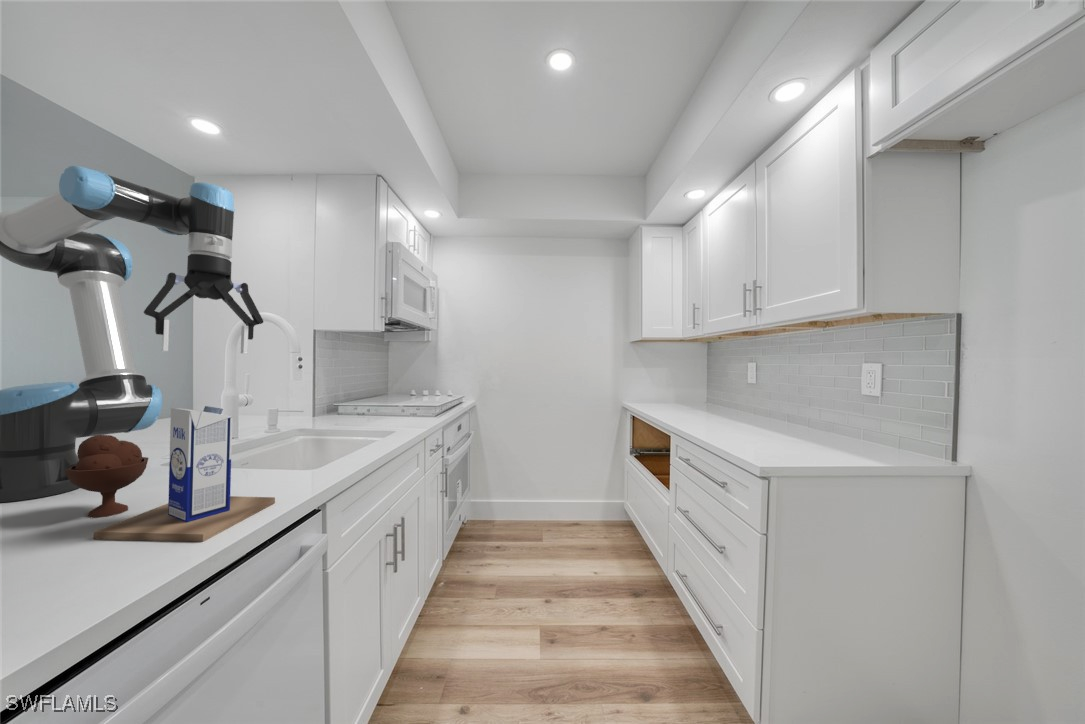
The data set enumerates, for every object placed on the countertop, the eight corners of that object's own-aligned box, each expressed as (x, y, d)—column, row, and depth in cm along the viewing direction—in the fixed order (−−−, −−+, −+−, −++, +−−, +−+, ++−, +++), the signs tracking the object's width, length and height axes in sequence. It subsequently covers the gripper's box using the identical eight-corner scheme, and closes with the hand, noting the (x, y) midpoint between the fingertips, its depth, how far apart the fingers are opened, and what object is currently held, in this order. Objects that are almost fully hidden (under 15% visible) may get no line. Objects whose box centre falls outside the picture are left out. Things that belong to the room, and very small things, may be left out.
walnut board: (93, 539, 66) (93, 531, 66) (188, 501, 84) (188, 495, 84) (203, 541, 66) (203, 534, 66) (274, 503, 84) (275, 497, 84)
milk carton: (167, 515, 74) (170, 406, 74) (210, 503, 80) (213, 403, 80) (186, 522, 71) (189, 409, 70) (230, 510, 77) (233, 406, 77)
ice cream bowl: (94, 526, 71) (96, 441, 71) (48, 519, 73) (50, 437, 73) (162, 505, 81) (164, 431, 81) (120, 500, 84) (121, 428, 84)
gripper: (131, 239, 77) (127, 349, 77) (280, 266, 96) (276, 354, 96) (128, 246, 82) (124, 349, 82) (270, 270, 101) (267, 354, 101)
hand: (206, 352), depth 89 cm, fingers open, 13 cm apart
